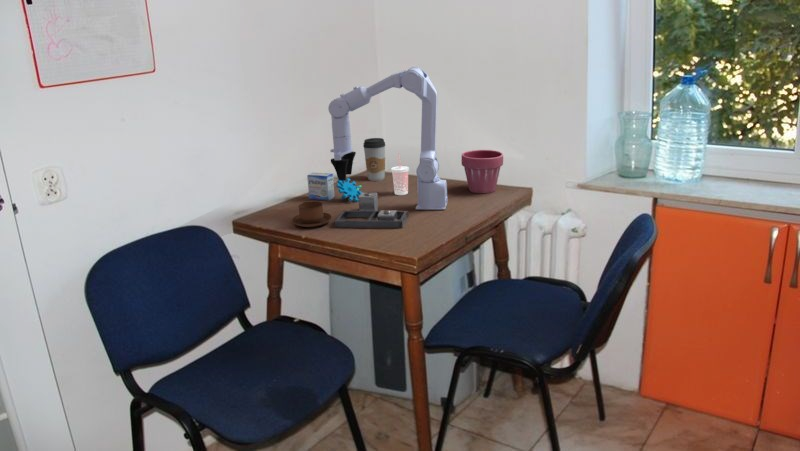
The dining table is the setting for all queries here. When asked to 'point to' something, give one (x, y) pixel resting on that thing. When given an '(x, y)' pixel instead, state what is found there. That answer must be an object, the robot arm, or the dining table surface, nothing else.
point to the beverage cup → (400, 179)
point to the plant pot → (482, 169)
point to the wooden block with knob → (387, 215)
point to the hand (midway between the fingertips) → (345, 177)
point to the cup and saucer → (311, 215)
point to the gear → (349, 189)
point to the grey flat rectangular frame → (370, 222)
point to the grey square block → (368, 202)
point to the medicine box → (320, 186)
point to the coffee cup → (375, 158)
